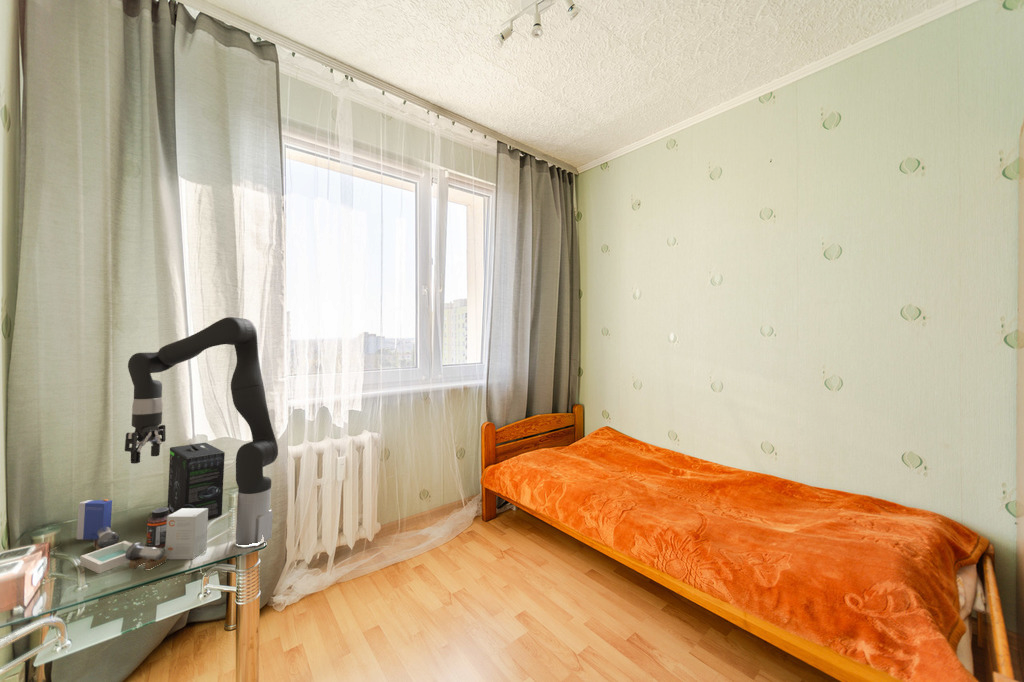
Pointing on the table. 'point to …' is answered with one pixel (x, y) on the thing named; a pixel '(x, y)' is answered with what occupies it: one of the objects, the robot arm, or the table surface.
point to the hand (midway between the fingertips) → (145, 459)
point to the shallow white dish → (106, 557)
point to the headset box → (196, 478)
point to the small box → (186, 533)
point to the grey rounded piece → (145, 555)
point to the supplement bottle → (157, 528)
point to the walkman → (93, 517)
